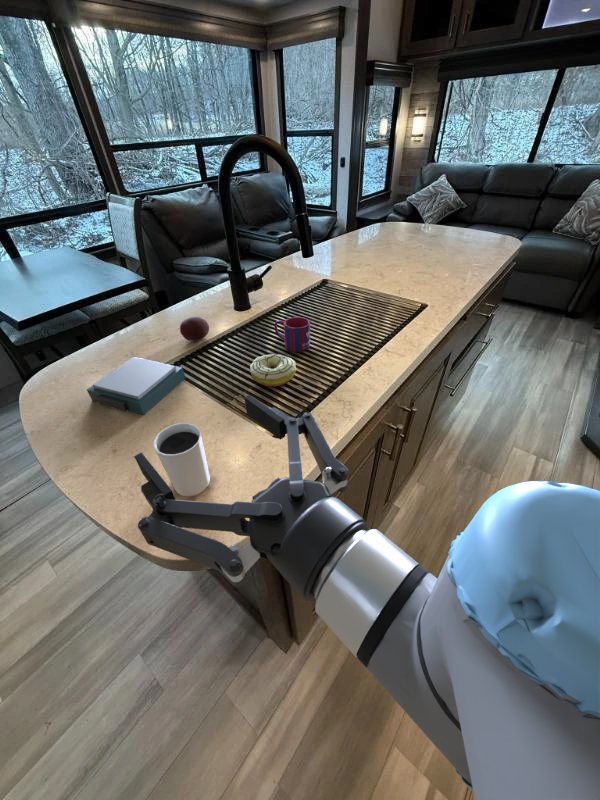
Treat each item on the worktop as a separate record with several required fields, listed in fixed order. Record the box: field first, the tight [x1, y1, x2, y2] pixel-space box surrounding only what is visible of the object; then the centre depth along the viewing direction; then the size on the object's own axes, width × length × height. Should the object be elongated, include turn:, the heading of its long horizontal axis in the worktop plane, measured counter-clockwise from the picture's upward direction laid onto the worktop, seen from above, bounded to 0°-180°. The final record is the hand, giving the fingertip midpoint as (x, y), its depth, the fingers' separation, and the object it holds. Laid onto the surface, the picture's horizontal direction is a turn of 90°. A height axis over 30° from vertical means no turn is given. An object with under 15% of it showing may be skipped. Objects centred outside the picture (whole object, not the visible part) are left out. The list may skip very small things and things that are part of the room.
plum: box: [179, 316, 210, 342], centre depth 91 cm, size 7×8×6 cm
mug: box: [274, 316, 311, 353], centre depth 88 cm, size 7×10×7 cm
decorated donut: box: [249, 353, 297, 387], centre depth 77 cm, size 10×11×4 cm
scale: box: [86, 356, 186, 416], centre depth 73 cm, size 15×14×4 cm
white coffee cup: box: [153, 422, 211, 497], centre depth 51 cm, size 7×7×10 cm
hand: (199, 430), depth 38 cm, fingers open, 13 cm apart
